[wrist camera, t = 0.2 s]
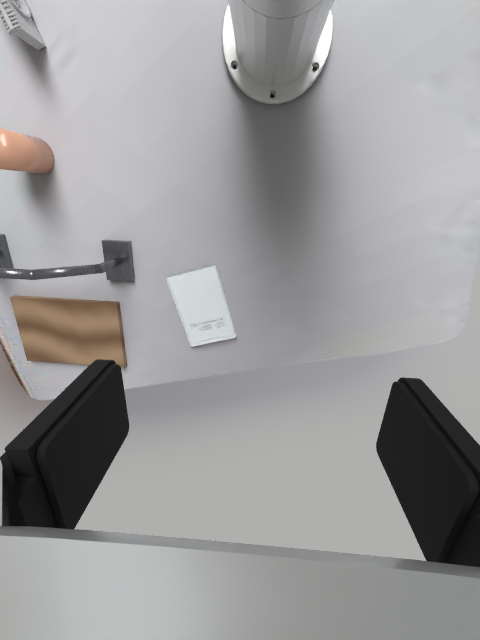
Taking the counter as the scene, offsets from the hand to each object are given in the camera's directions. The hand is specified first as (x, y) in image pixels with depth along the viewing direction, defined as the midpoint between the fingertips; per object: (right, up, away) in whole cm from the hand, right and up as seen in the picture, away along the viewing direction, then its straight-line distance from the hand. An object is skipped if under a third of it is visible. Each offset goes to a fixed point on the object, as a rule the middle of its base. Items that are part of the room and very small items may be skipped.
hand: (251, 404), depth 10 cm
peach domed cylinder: (-29, +26, +31) cm, 49 cm away
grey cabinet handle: (-29, +13, +36) cm, 48 cm away
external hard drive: (-6, +5, +39) cm, 40 cm away
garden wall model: (-27, +42, +25) cm, 55 cm away
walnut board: (-30, +1, +41) cm, 51 cm away
